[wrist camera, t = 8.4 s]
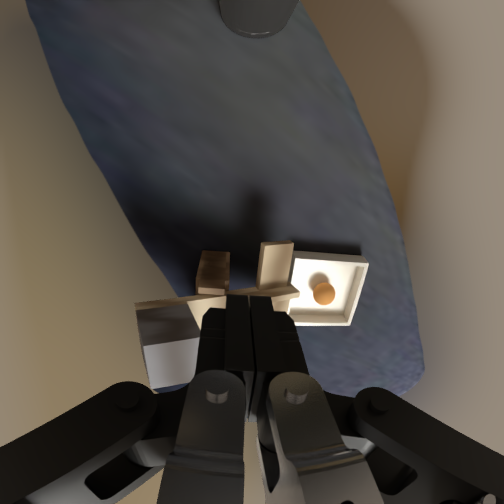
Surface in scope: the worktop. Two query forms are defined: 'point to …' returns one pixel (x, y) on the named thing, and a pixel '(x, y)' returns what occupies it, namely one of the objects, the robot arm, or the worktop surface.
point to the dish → (325, 271)
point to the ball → (324, 293)
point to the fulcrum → (213, 273)
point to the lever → (190, 317)
